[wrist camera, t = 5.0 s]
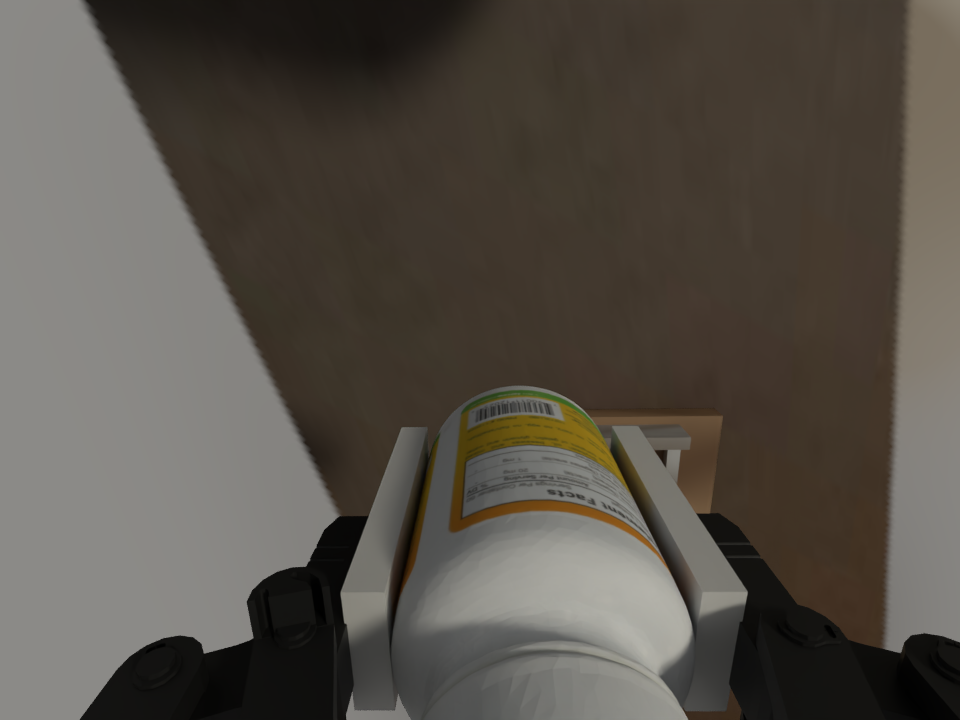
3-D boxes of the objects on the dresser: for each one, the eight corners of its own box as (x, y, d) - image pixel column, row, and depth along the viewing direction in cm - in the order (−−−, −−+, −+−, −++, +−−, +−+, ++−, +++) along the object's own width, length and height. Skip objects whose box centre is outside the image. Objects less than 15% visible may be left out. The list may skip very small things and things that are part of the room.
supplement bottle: (519, 566, 17) (559, 1028, 7) (393, 466, 16) (257, 861, 6) (643, 460, 15) (879, 857, 6) (516, 343, 14) (571, 611, 5)
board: (500, 410, 31) (502, 430, 28) (714, 408, 31) (737, 428, 28) (501, 643, 36) (502, 681, 33) (683, 643, 36) (701, 681, 33)
